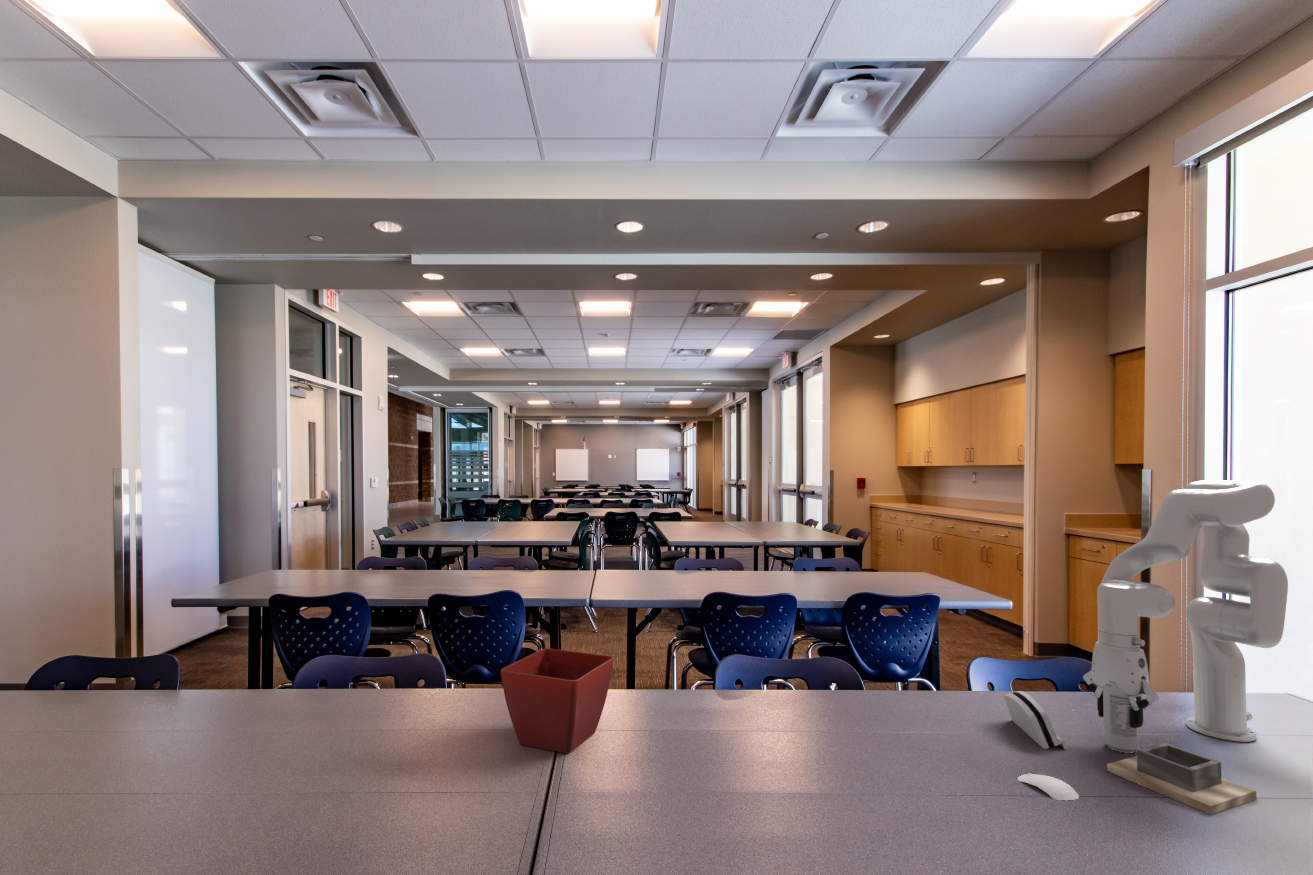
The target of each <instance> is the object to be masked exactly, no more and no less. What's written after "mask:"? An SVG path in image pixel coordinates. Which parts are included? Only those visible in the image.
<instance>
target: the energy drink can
mask: <svg viewBox="0 0 1313 875" xmlns="http://www.w3.org/2000/svg"><path fill="white" fill-rule="evenodd" d="M1130 709H1133V708H1132V705H1131V702H1130V700H1129V697H1128V695H1126V694H1125V693H1124V692H1123V690H1122V689H1121V688H1120V687H1119V686H1117V685H1116V682H1113V681H1110V680H1109V683H1107V684H1105V685H1104V686H1103V715H1104V717H1103V742H1104V743H1105V744H1106V746H1108V747H1109V749H1110V748H1111V749H1110V750H1112V749H1113V750H1112V751H1114V750H1116V751H1115V752H1117V751H1119V752H1118V753H1121V752H1128V753H1127V754H1131V753H1130V752H1134V753H1135V750H1136V751H1137V750H1138V734H1137V733H1138V728H1131V726H1130ZM1108 747H1107V748H1108Z"/></svg>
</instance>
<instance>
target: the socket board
mask: <svg viewBox="0 0 1313 875" xmlns="http://www.w3.org/2000/svg"><path fill="white" fill-rule="evenodd" d="M1106 770H1107V771H1109V772H1108V773H1110V772H1111V773H1110V774H1112V773H1113V775H1115V774H1116V775H1115V776H1117V775H1118V777H1119V776H1121V777H1120V778H1122V777H1123V778H1122V779H1124V778H1125V780H1126V781H1129V782H1131V781H1132V782H1131V783H1134V784H1136V783H1137V785H1139V786H1142V787H1144V788H1145V789H1148V788H1149V790H1151V791H1153V790H1154V791H1153V792H1156V793H1158V792H1159V793H1158V794H1161V795H1163V796H1166V797H1167V798H1171V799H1172V800H1174V801H1177V802H1180V803H1182V804H1184V805H1187V806H1189V807H1191V808H1194V809H1196V810H1199V811H1202V812H1204V813H1206V814H1209V815H1211V816H1212V815H1214V814H1217V813H1221V812H1223V811H1226V810H1228V809H1231V808H1234V807H1237V806H1240V805H1243V804H1246V803H1249V802H1251V801H1254V800H1256V799H1257V790H1255V789H1252V788H1249V787H1247V786H1244V785H1242V784H1238V783H1236V782H1234V781H1230V780H1227V779H1225V778H1222V762H1221V761H1219V760H1215V759H1213V758H1210V757H1208V756H1204V755H1201V754H1199V753H1196V752H1193V751H1190V750H1187V749H1184V748H1181V747H1179V746H1176V745H1174V744H1170V743H1166V742H1164V743H1159V744H1155V745H1151V746H1148V747H1143V748H1139V749H1136V756H1135V755H1134V756H1132V757H1128V758H1124V759H1121V760H1120V759H1119V760H1117V761H1113V762H1108V763H1107V764H1106ZM1107 771H1106V772H1107Z"/></svg>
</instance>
